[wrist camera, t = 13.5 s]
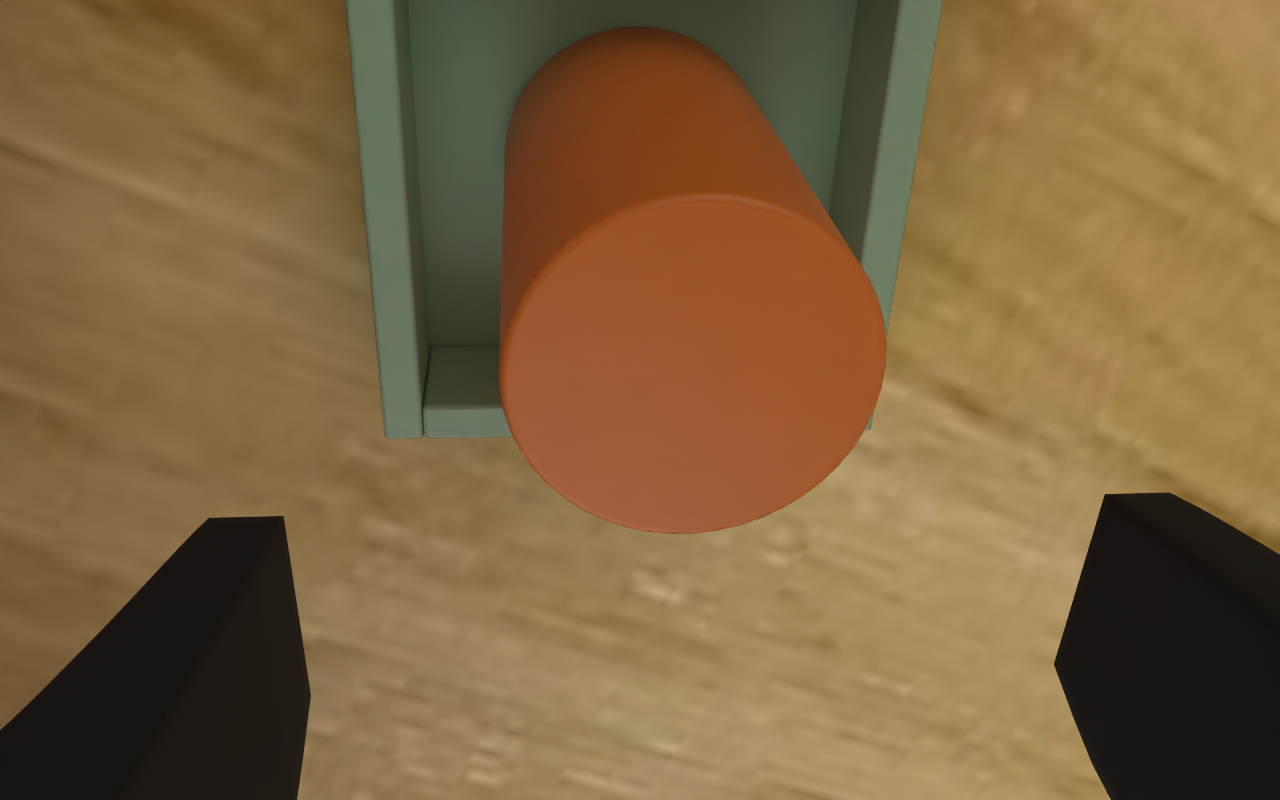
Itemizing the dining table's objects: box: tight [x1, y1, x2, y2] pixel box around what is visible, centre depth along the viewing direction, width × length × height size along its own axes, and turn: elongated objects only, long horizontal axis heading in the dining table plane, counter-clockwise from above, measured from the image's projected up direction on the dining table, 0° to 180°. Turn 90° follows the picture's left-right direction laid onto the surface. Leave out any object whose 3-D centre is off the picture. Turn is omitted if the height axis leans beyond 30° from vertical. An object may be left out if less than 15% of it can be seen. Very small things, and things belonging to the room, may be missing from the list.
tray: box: [345, 0, 943, 439], centre depth 17 cm, size 8×8×2 cm
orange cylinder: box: [499, 27, 887, 534], centre depth 14 cm, size 4×4×7 cm
